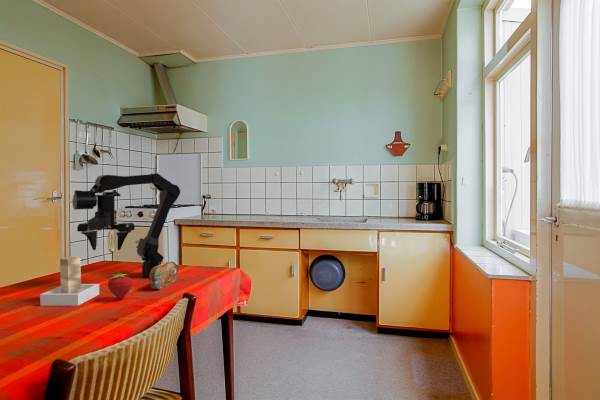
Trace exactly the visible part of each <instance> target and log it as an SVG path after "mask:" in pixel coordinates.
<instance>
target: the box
mask: <svg viewBox="0 0 600 400" xmlns="http://www.w3.org/2000/svg"><path fill="white" fill-rule="evenodd" d="M99 295H100V284H99V283H81V292H79V293H77V294H61V285H60V286H57V287H54V288H52V289H50V290H48V291H45V292H43V293H41V294H40V296H39V297H40V298H39V299H40V301H39V302H40V307H42V306H45V307H48V306H49V307H52V306H53V307H55V306H56V307H58V306H66V307H67V306H70V307H71V306H73V307H74V306H75V307H77V306H81V305H82V304H83V303H86V302H87V301H89V300H91V299H93V298H95V297H97V296H99Z"/></svg>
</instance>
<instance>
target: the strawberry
mask: <svg viewBox="0 0 600 400" xmlns="http://www.w3.org/2000/svg"><path fill="white" fill-rule="evenodd" d="M133 283H134V282H133V279H132V278H131V277H129V276H128V273H119V271H117V274H112V277H110V278H109V280H108V281H107V287H108V289H109V291H110V293H112V295H114V296H115V298H117V300H121V301H122V300H123V299H124V298H125V297H126V295H127V294H129V292H130V291H131V289H132V287H133Z"/></svg>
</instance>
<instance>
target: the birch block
mask: <svg viewBox="0 0 600 400" xmlns="http://www.w3.org/2000/svg"><path fill="white" fill-rule="evenodd" d="M59 264H60V265H59V269H60V270H59V271H60V286H61V294H77V293H79V292H81V284H82V273H81V269H82V268H81V267H82V266H81V256H77V255H76V256H75V255H69V256H66V257H60V258H59Z"/></svg>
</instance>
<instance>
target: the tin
mask: <svg viewBox="0 0 600 400" xmlns="http://www.w3.org/2000/svg"><path fill="white" fill-rule="evenodd" d="M178 271H179V270H178V265H177V264H176V262H174V261H166V262H162V263H161V264H160V265H158V266H155V267H153V268H152V269H151V271H150V274H149V278H148V280H149V281H148V282H149V287H150V288H151V289H154V290H162V289H165V288H167V287H168V286H171V285H172V284H174V283H175V282H176V280H177V279H178V275H179V274H178Z"/></svg>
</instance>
